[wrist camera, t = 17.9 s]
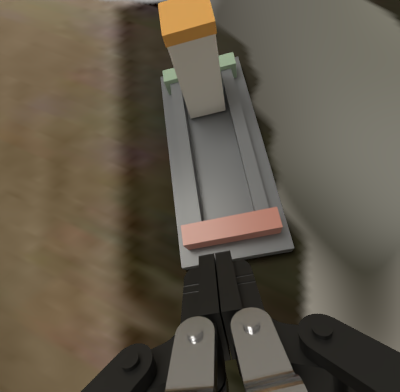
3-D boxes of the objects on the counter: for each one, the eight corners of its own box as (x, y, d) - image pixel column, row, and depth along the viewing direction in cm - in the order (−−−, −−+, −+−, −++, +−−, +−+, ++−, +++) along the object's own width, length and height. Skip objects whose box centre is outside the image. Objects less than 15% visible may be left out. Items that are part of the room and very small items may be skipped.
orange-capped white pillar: (226, 110, 29) (215, 21, 19) (189, 119, 29) (162, 36, 20) (220, 83, 30) (206, -12, 21) (185, 92, 31) (158, 3, 22)
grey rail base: (291, 251, 23) (298, 243, 20) (185, 270, 24) (175, 265, 21) (238, 66, 33) (237, 41, 30) (164, 86, 34) (155, 63, 31)
